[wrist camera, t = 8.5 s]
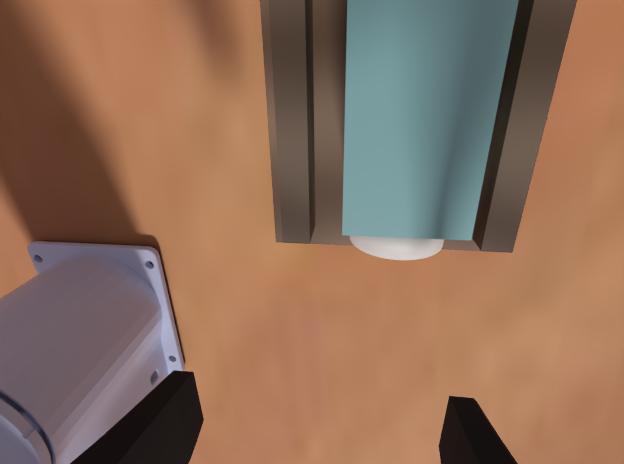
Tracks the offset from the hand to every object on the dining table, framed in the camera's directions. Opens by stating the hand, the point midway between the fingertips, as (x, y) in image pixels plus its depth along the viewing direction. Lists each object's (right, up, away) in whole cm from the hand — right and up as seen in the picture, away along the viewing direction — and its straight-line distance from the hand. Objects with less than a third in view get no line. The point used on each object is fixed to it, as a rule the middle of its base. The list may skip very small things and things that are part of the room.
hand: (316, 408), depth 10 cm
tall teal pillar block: (+3, +12, +3) cm, 13 cm away
